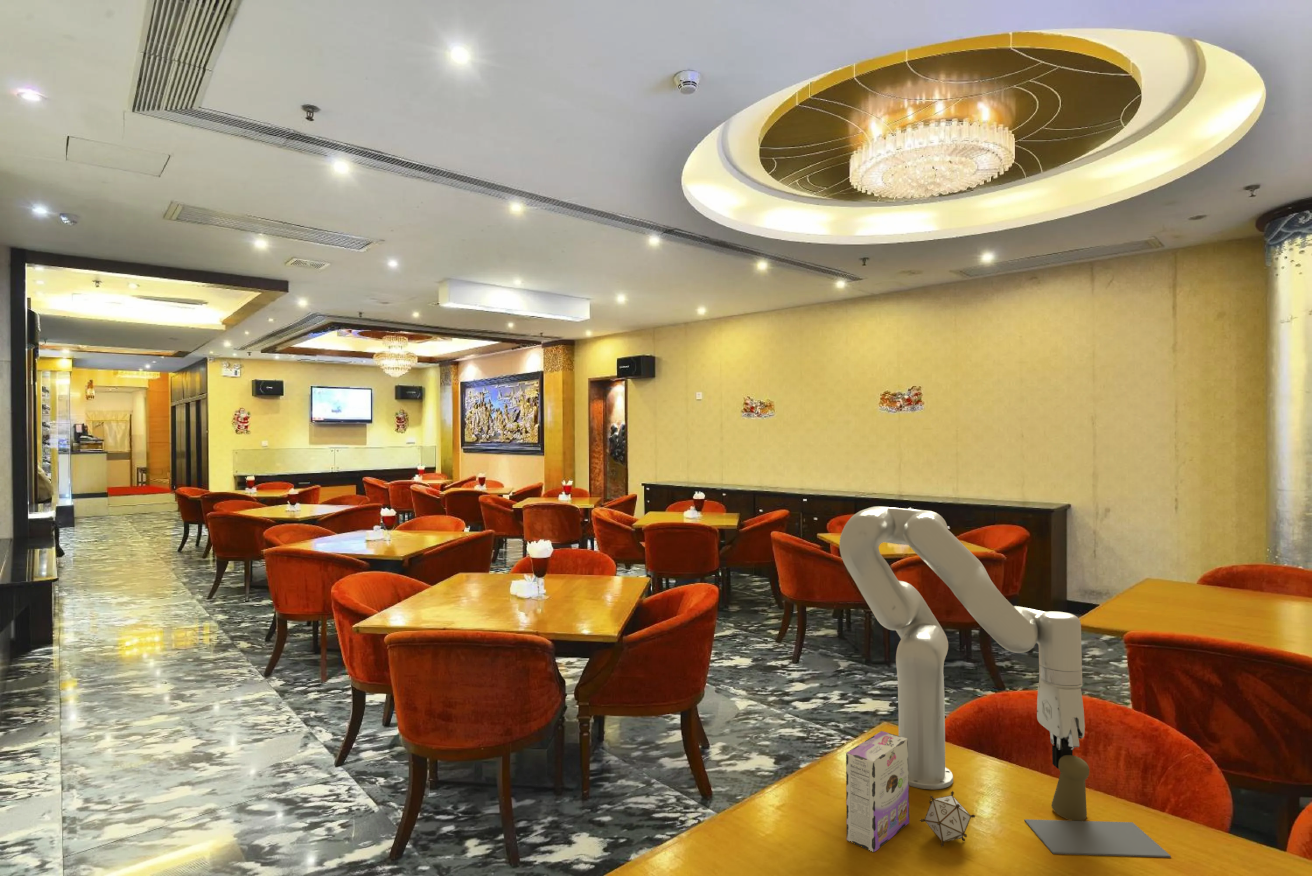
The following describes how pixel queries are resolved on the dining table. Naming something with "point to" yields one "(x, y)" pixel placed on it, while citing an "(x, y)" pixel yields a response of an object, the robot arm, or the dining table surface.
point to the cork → (1071, 788)
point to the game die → (947, 818)
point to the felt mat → (1095, 838)
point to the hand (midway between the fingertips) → (1062, 766)
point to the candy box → (877, 790)
